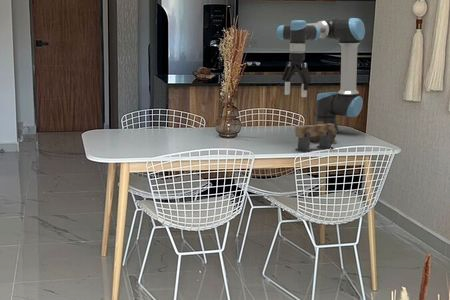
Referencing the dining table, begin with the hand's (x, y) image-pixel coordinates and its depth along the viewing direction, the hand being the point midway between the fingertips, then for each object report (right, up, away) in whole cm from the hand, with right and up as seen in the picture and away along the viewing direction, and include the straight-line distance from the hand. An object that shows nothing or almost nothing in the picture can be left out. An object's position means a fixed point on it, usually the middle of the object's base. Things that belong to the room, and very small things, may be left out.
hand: (295, 95), depth 294 cm
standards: (+9, -27, -3) cm, 28 cm away
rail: (+9, -20, -5) cm, 22 cm away
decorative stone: (+17, -23, +19) cm, 34 cm away
